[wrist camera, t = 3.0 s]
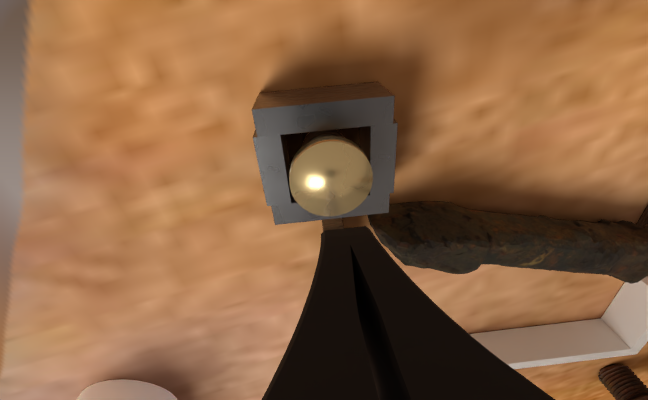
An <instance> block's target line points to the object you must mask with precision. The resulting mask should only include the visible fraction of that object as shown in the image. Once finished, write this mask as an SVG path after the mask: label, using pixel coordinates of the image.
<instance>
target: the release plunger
mask: <svg viewBox="0 0 648 400" xmlns="http://www.w3.org/2000/svg"><path fill="white" fill-rule="evenodd" d="M372 183H373V172H372V168H371V165H370V163H369V161H368V159H367V157H366V155H365V153H364V151H363V150H362V149H361V148H360V147H359V146H358V145H357V144H356V143H355V142H353V141H351V140H349V139H347V138H344V136H343V135H342V133H341V132H339V131H338V130H337V129H334V130H324V131H314V132H309V133H308V134H307V135H306V137H305V139H304V141H303V144H302V147H301V148H300V149H299V150H298V151H297V153H296V154H295V156H294V158H293V160H292V162H291V166H290V178H289V184H290V190H291V193H292V195H293V197H294V199H295V200H296V202H297V203H298V204H299V205H300V206H301V207H302V208H304V209H305V210H307V211H308V212H310V213H313V214H316V215H320V216H338V215H342V214H345V213H348V212H350V211H352V210H354V209H355V208H357V207H358V206H359V205H360V204H361V203H362V202H363V201H364V200H365V199H366V197H367V196H368V194H369V192H370V190H371V187H372Z"/></svg>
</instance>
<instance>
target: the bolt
mask: <svg viewBox="0 0 648 400" xmlns="http://www.w3.org/2000/svg"><path fill="white" fill-rule="evenodd" d="M599 373H600V375H598V377H599V380H600V381H602V384H604V386H605V387H606V388H607V390H609V391H610V393H611V394H613V397H615V399H616V400H648V388H647V387H646V385H643V382H642V381H640V379H639V378H637V375H634V372H632V370H631V369H629V367H628V366H623V365H618V364H616V365H612V366H609V367H605V368H603V369H601V370H600V372H599Z"/></svg>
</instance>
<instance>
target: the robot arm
mask: <svg viewBox="0 0 648 400" xmlns="http://www.w3.org/2000/svg"><path fill="white" fill-rule="evenodd" d="M262 400H555V399H553V398H552V397H551V396H549V395H548V394H547V393H545V392H544V391H543V390H541V389H540V388H538V387H537V386H536V385H534V384H533V383H532V382H530V381H529V380H528V379H526V378H525V377H524V376H522V375H521V374H519V373H518V372H517V371H515V370H514V369H513V368H511V367H510V366H509V365H507V364H506V363H505V362H503V361H502V360H501V359H499V358H498V357H497V356H495V355H494V354H493V353H492V352H490V351H489V350H488V349H487V348H485V347H484V346H483V345H482V344H481V343H479V342H478V341H477V340H476V339H474V338H473V337H472V336H471V335H470V334H468V333H467V332H466V331H465V330H464V329H463V328H461V327H460V326H459V325H458V324H457V323H456V322H454V321H453V320H452V319H451V318H450V317H449V316H448V315H447V314H446V313H444V312H443V311H442V310H441V309H440V308H439V307H438V306H437V305H436V304H435V303H434V302H433V301H432V300H431V299H430V298H429V297H428V296H427V295H426V294H425V293H424V292H423V291H422V290H421V289H420V288H419V287H418V286H417V285H416V284H415V283H414V282H413V281H412V280H411V279H410V278H409V277H408V276H407V275H406V273H405V272H404V271H403V270H402V269H401V268H400V267H399V266H398V265H397V264H396V262H395V261H394V260H393V259H392V258H391V257H390V255H389V254H388V253H387V252H386V250H385V249H384V248H383V247H382V246H381V244H380V243H379V242H378V240H377V239H376V238H375V236H374V235H373V234H372V232H371V231H370V229H369V228H367V227H366V226H364V227H354V228H345V229H336V230H327V231H324V232H323V233H322V234H321V248H320V254H319V259H318V263H317V267H316V271H315V275H314V278H313V282H312V285H311V289H310V292H309V294H308V297H307V300H306V303H305V306H304V308H303V311H302V314H301V317H300V319H299V322H298V324H297V327H296V329H295V332H294V334H293V336H292V339H291V341H290V343H289V345H288V347H287V350H286V352H285V354H284V356H283V358H282V360H281V362H280V364H279V367H278V369H277V371H276V373H275V375H274V377H273V379H272V381H271V383H270V385H269V387H268V389H267V390H266V392H265V394H264V396H263V398H262Z"/></svg>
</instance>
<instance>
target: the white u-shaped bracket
mask: <svg viewBox="0 0 648 400" xmlns="http://www.w3.org/2000/svg"><path fill="white" fill-rule="evenodd" d="M470 335H471V336H472V337H473V338H474V339H476V340H477V341H478V342H479V343H481V344H482V345H483V346H484V347H485V348H487V349H488V350H489V351H490V352H492V353H493V354H494V355H495V356H497V357H498V358H499V359H501V360H502V361H503V362H505V363H506V364H507V365H509V366H510V367H511V368H513V369H520V368H528V367H537V366H545V365H553V364H561V363H569V362H578V361H586V360H594V359H602V358H610V357H618V356H627V355H635V354H637V353H638V352H639V351H640V350H641V349H642V347H643V346H644V345H645V344H646V343H647V342H648V276H647V277H645V278H644V279H642V280H641V281H639V282H638V283H633V284H630V283H628V282H625V283H624V284H623V286H622V287H621V289H620V290H619V292H618V293H617V295H616V296H615V298H614V299H613V301H612V302H611V304H610V305H609V307H608V308H607V310H606V311H605V313H604V314H603V316H602V317H601V318H600V319H592V320H583V321H575V322H566V323H558V324H550V325H541V326H533V327H524V328H516V329H507V330H499V331H491V332H482V333H474V334H470Z"/></svg>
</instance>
